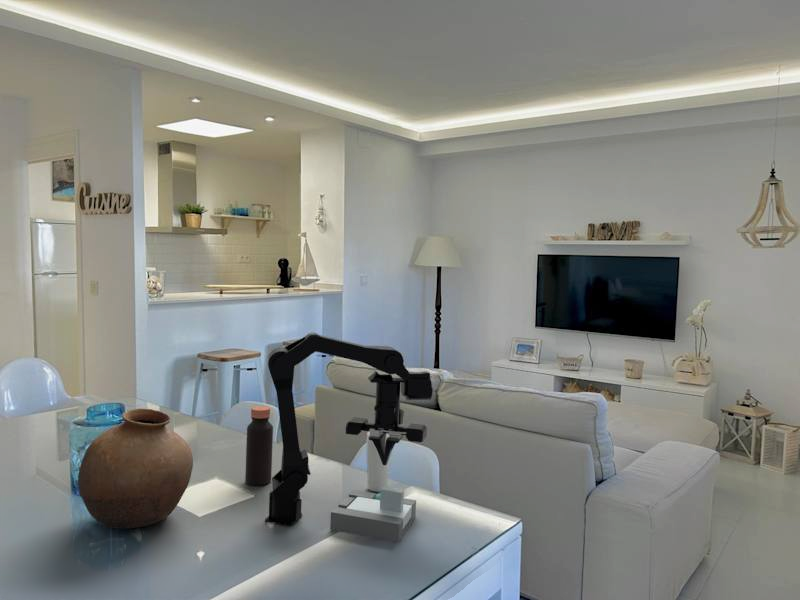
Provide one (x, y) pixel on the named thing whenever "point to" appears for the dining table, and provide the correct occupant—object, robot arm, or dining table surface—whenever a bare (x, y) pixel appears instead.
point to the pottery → (135, 471)
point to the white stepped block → (385, 504)
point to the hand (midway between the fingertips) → (384, 464)
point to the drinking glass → (376, 467)
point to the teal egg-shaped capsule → (378, 496)
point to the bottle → (259, 447)
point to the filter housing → (369, 519)
